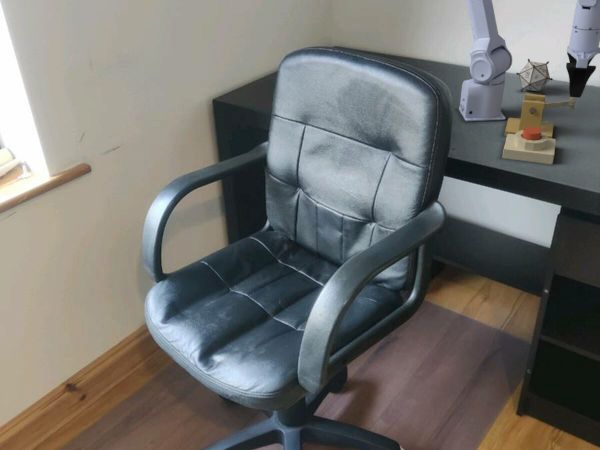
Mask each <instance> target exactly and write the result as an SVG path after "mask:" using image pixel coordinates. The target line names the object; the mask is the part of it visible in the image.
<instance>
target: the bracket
mask: <svg viewBox="0 0 600 450" xmlns="http://www.w3.org/2000/svg"><path fill="white" fill-rule="evenodd" d="M546 97H547V96H546V95H545V94H541V95H540V94H534V93H524V97H523V101H522V107H521V111H520V112H521V113H520V118H518V117H517V118H515V117H508V119H507V121H506V122H507V123H506V127H505V130H504V135H503V136H505V137H507V134H514V135H515V134H516V133H517V132H519V131H521V130H523V129H524V128H526V127H536V128H539V129H541V131H542V133H545V134H546V135H547V136H548V138H549V139H553V132H554V125H555V122H554V121H544V120H542V119H543V113H544V109H545V108H544V103H545V102H546ZM530 99H540V101H530Z"/></svg>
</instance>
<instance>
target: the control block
mask: <svg viewBox="0 0 600 450" xmlns="http://www.w3.org/2000/svg"><path fill="white" fill-rule="evenodd" d="M522 135H523V130H521V131H519V132H517V133H516V134H515V135H514V134H507V136H506V138H505V142H504V146H503V150H502V156H501V157H502V159H506V160H507V159H508V160H516V161H523V162H532V163H539V164H547V165H553V164H554V159H555V153H556V152H555V151H556V142H557V139H556V138H552V139H549V138H548V136H547V135H546V134H545V133H542V132H541V137H540V140H535V141H532V140H526V139H524V138H522Z"/></svg>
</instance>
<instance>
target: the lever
mask: <svg viewBox="0 0 600 450" xmlns="http://www.w3.org/2000/svg"><path fill="white" fill-rule="evenodd" d="M530 101H540V99H530ZM559 107H568V110H569V111H570V110H575V109H576V97H570V96H569V99H561V100H552V101H545V103H544V109H547V108H559Z"/></svg>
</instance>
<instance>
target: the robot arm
mask: <svg viewBox="0 0 600 450" xmlns="http://www.w3.org/2000/svg"><path fill="white" fill-rule="evenodd" d="M465 3H466V7H467V13H468V18H469V22H470V27H471V31H472V37H473V44H472V47H471V50H470V52H469V55H470V56H469V57H470V64H469V73H470V76H471V78H470V79H466V80H463V82H462V83H461V84H462V85H461V90H460V102H459V107H458V111H459V112H460V114H461V115H462V117H463V119H464V121H465V122H486V121H487V122H488V121H505V120H506V119H507V117H506V116H505V115H504V114H503V112H502V105H503V99H504V98H503V97H504V91H505V85H506V84H505V83H506V73H507V71H509V70H510V69H511V67H512V65H513V55H512V53H511V51H510V50H509V49H508V47H507V44H506V40H505V38H503V37H502V36H501V35H500V33H499V30H498V25H497V20H496V14H495V9H494V4H493V0H465ZM570 31H571V32H570V36H569V43H568V46H567V49H566V52H567V53H566V54H567V58H568V61H569V62H566V64H565V68H566V71H567V75H568V81H569V82H568V83H569V84H568V85H569V86H568V87H569V89H568V91H569V93H568V94H569V98H570V97H575V98H579V99H580V98H581V97H582V95H583V93H584V90H585V88H586V85H587V83H588V81H589V79H591V76H592V75H593V73H594V72H596V70H597V65H591V62H592V61H593V59H594V58H595V56H596V55H599V54H600V0H576V3H575V9H574V14H573V19H572V25H571V30H570Z"/></svg>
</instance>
